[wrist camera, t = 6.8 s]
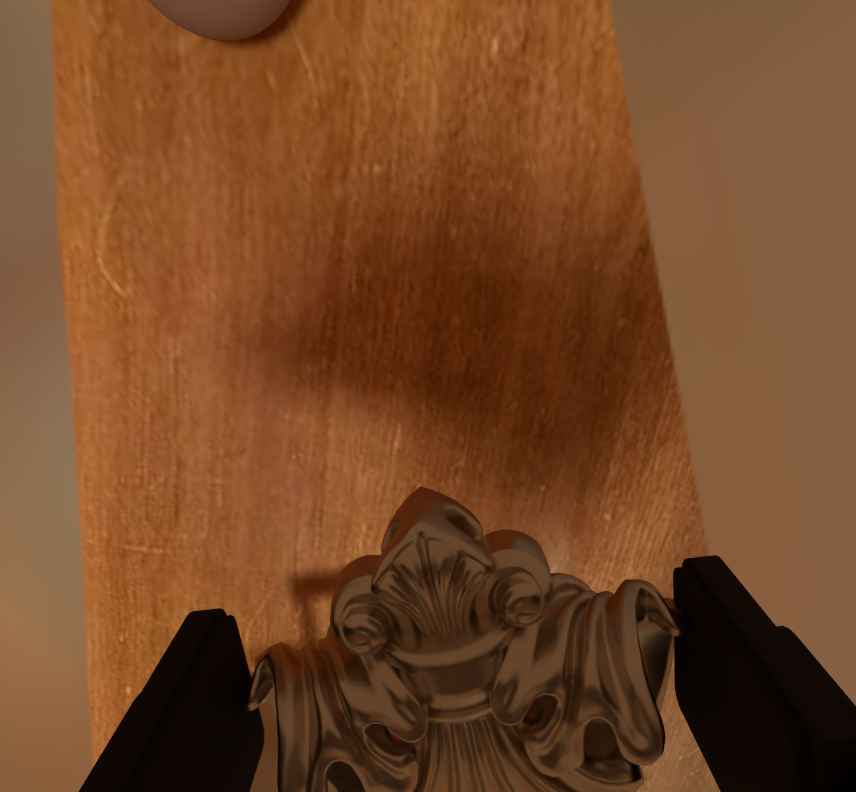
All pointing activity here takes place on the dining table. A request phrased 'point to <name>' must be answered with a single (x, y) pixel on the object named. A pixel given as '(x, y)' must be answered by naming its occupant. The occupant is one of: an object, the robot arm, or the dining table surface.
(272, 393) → the dining table surface
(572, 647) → the ornament
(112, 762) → the robot arm
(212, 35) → the egg
